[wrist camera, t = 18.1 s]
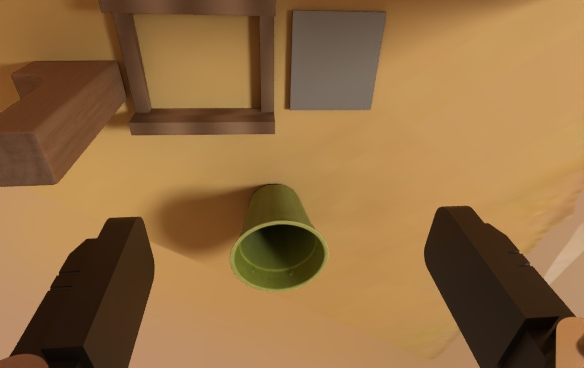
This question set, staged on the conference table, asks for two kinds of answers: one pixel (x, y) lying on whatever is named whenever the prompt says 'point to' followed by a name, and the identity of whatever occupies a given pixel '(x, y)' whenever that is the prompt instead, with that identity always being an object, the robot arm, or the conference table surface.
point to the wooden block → (55, 118)
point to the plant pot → (278, 243)
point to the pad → (334, 59)
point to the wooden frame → (195, 121)
